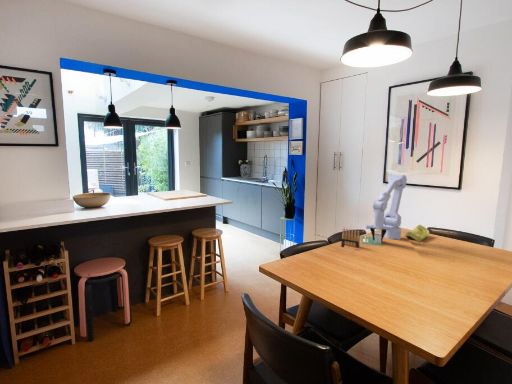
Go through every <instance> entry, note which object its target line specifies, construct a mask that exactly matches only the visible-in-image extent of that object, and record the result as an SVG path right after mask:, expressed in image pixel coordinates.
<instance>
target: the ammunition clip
mask: <svg viewBox="0 0 512 384" xmlns="http://www.w3.org/2000/svg"><path fill="white" fill-rule="evenodd" d="M360 238H361V237H360V230H357V229H355V230H354V229H352V228H351V229H350V228H349V229H348V228H345V227H343V229H342V235H341V245H340V247H342V248H345V246H348V247H353V248H354V247H355V250H357V251H358V250H360V249H357V248H360V240H361V239H360Z"/></svg>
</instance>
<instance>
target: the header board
mask: <svg viewBox="0 0 512 384" xmlns="http://www.w3.org/2000/svg"><path fill="white" fill-rule="evenodd" d="M360 238H361V239H360V240H361V245H369V246H378V247H383V246H384V245H383V243H382V242H383V241H381V244H379V243H375V242H374V241H373V236H367V235H365V236H362V235H361V237H360Z"/></svg>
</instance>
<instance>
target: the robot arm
mask: <svg viewBox="0 0 512 384" xmlns="http://www.w3.org/2000/svg"><path fill="white" fill-rule="evenodd" d="M407 182H408V179H407V176H406V175H405V174H392V173H391V174H389V176H388V177H387V186H386V187H385V189H384V191H382V192H381V194H380V195H379V197H378V199H377V200H375V201H374V202H373V204H372V208H373V212H374V215H373V216H374V217H373V225H372V224H371V225H368V224H367V225H365V229H367V230H370V233H371V237H373V241H374V234H375V233H376V231H375V230H378V231H379V230H381V232H380V233H381V242H383V239H384V238H385V239H388V240H400V241H401V239H402V238H401V234H402V233H401V232H402V228H401V224H402V216H401V215H400V214H399V209H400V205H401V204H400V203H401V199H402V194H403V189H406V185H407ZM392 192H393V194H392V198H391V193H392ZM390 198H391V204H390V207H389V211H388V212H386V213H385V211H386V210H387V208H388V205H389V204H388V202H389V200H390Z"/></svg>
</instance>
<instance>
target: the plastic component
mask: <svg viewBox="0 0 512 384" xmlns="http://www.w3.org/2000/svg"><path fill="white" fill-rule="evenodd" d="M429 234H430V231H429V229H428V228H426V227H425V226H423V225H421V224H418V225H417V226H416V227H415V228H414V229H413V230H411V231H408V232H407V233H405V235H404V236H403V237H406V238H407V237H411V239H414V240H415V241H416V242H422V241H423V240H424V239H426V238H427V236H429Z"/></svg>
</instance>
